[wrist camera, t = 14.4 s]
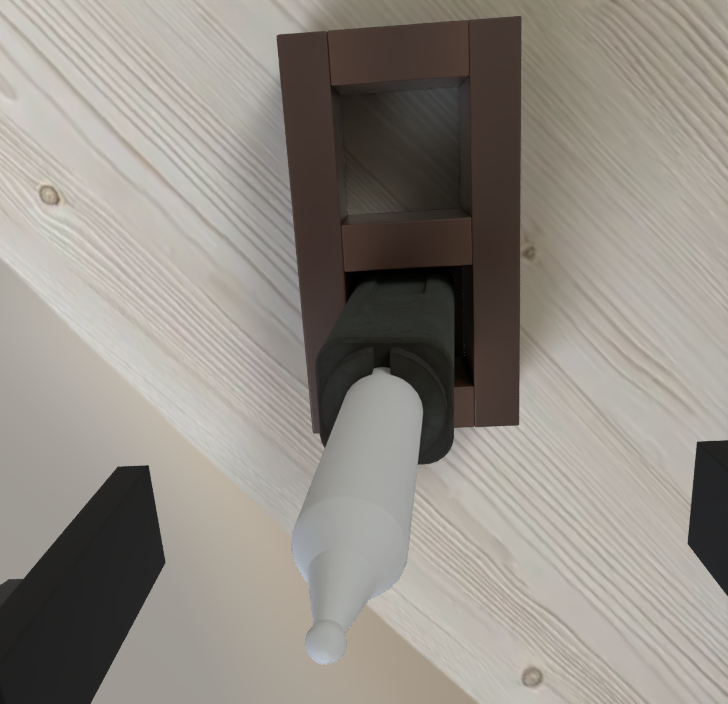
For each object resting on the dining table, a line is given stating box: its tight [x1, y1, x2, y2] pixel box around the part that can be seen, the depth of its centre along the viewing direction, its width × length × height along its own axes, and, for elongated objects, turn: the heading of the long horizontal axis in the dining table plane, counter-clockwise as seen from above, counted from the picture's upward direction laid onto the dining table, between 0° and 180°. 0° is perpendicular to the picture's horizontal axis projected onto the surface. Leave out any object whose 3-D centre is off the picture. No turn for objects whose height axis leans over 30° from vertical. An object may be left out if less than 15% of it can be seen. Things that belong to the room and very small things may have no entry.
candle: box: [292, 266, 454, 664], centre depth 25 cm, size 5×5×25 cm
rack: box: [277, 16, 521, 433], centre depth 33 cm, size 10×19×5 cm, turn 4°
